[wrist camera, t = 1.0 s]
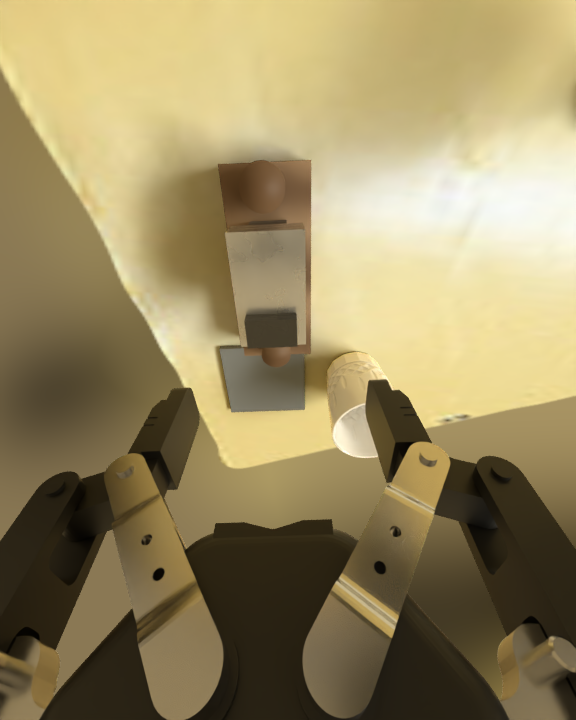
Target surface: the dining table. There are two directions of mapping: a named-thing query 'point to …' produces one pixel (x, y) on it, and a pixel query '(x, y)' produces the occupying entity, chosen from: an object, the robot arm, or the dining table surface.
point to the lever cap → (269, 283)
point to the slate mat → (262, 382)
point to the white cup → (352, 402)
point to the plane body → (271, 219)
